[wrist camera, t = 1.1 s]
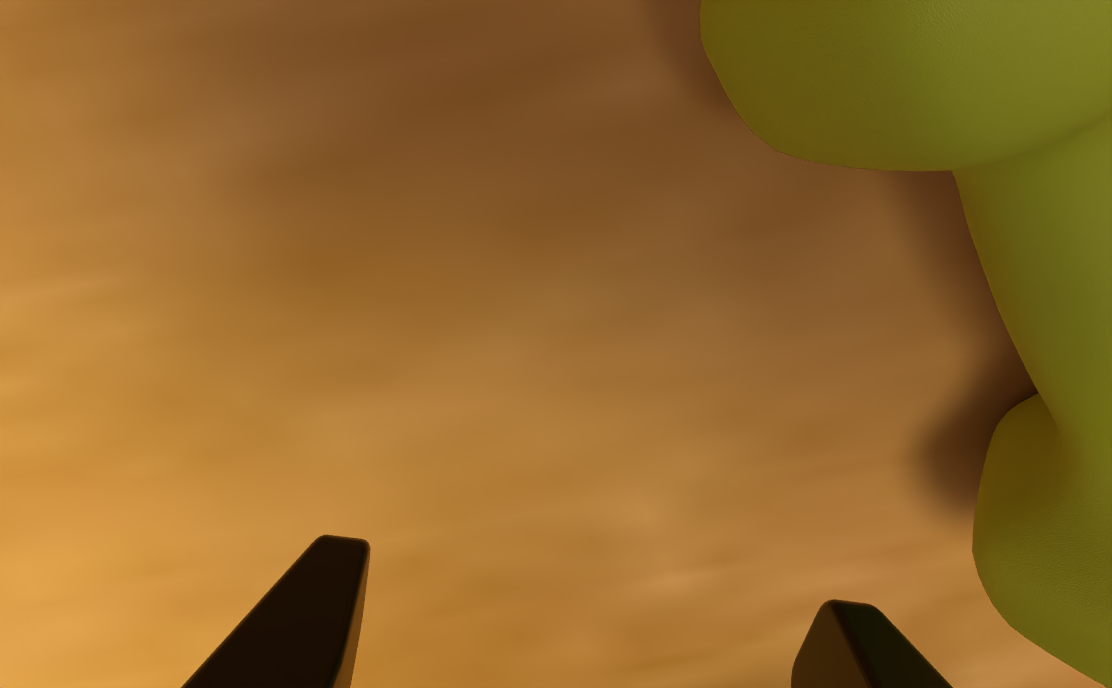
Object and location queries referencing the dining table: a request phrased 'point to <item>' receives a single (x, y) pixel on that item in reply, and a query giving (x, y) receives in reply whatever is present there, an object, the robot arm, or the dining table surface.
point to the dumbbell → (982, 238)
